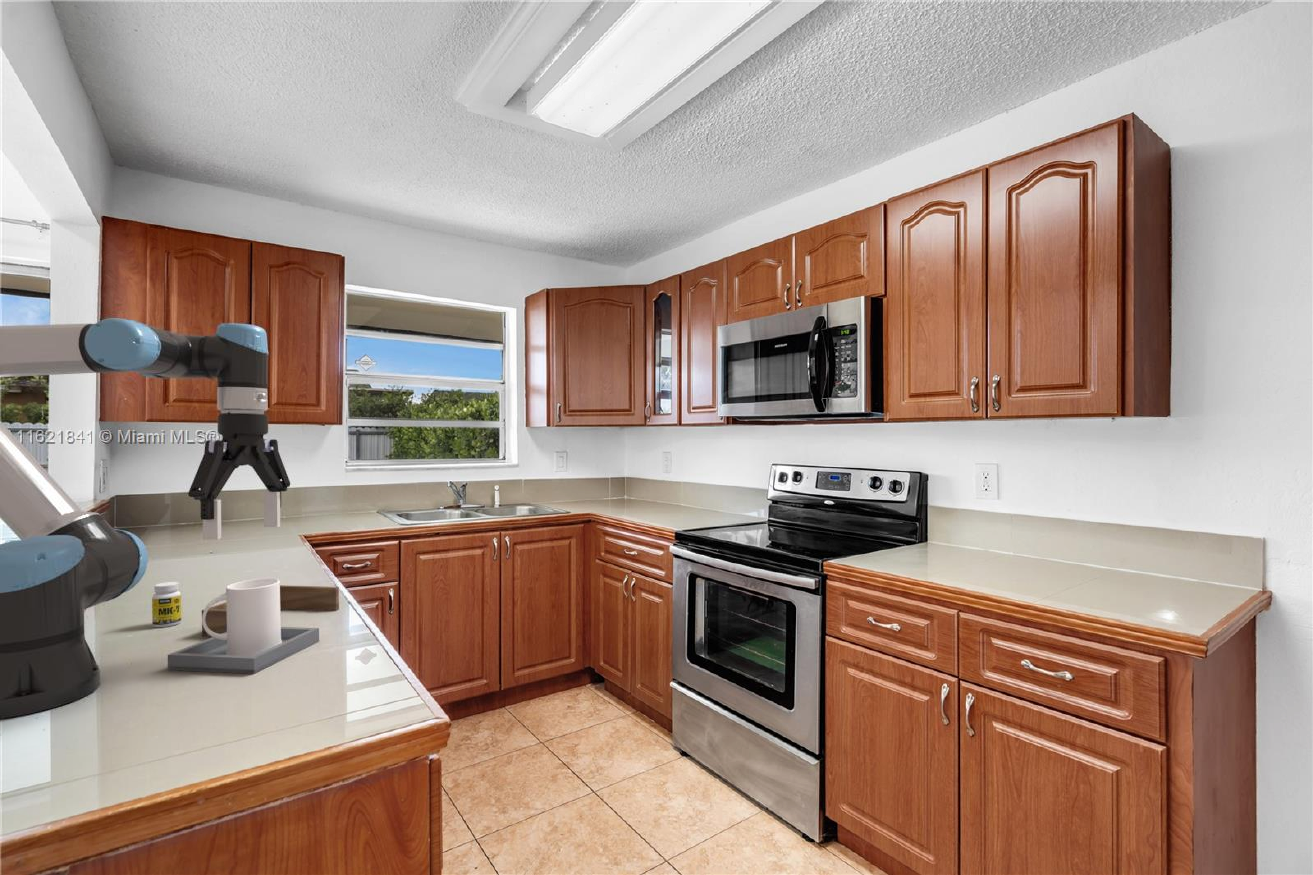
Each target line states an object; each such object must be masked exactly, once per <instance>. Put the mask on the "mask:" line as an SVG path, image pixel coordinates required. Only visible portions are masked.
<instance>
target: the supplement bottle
mask: <svg viewBox="0 0 1313 875" xmlns="http://www.w3.org/2000/svg"><path fill="white" fill-rule="evenodd" d="M179 585H180V583H179V582H178V581H168V582H160V583H156V584H155V585H154V591H153V592H154V594H153V595H152V597H151V602H152V603H151V608H152V611H151V614H152V615H151V616H152V618H151V621H152V622H151V623H152V627H154V628H167V627H172V626H177V625H179V624H180V623H181V622H182V593H181V591H179V589H180V586H179Z"/></svg>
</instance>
